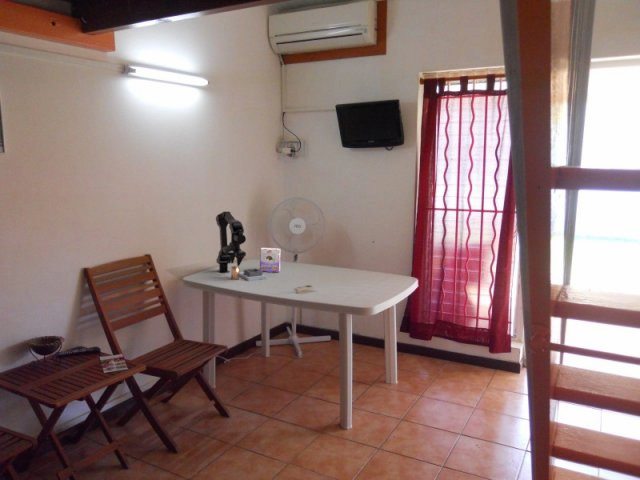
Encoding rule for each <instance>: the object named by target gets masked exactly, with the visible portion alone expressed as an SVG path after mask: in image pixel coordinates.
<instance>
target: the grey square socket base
mask: <svg viewBox="0 0 640 480" xmlns="http://www.w3.org/2000/svg"><path fill="white" fill-rule="evenodd" d="M239 278H242V279H244V280H246V281H248V282H250V281H251V282H252V281H259V280H267V275H265V274H263V272H262V271H261V270H260V268H259V269H258V268H247V269H243V271H239Z"/></svg>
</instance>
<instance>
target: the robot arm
mask: <svg viewBox="0 0 640 480" xmlns="http://www.w3.org/2000/svg"><path fill="white" fill-rule="evenodd" d="M215 222H216V225H217V226H218V228H219V242H220V250H219V251H218V255H217V258H216V264H218V265H219V269H217V272H219V273H221V274H222V273H231V271H230V270H229V269H228V268H229V267H228V266H229V264H234V261H235V258H236V266H238V267H240V265H241V263H242V262H243V260H244V258H245V257H246V255H247V254H246V253H247V252H246V251H244V250H242V249H241V245H242V244H244V243H246V240H247V238H246V236H245V235H244V233H245V228H244V226H243V224H242V221H240V220H238V219H236V218H235V217H234V216H233V215H232V214H231V211H222V212H221V213H219V214H217V215H216V217H215ZM228 225H229V226H228ZM228 227H229V230H230V234H231V235H230V239H231V240H230V242H229V244H228V233H227V228H228Z"/></svg>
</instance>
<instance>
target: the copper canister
mask: <svg viewBox="0 0 640 480" xmlns="http://www.w3.org/2000/svg"><path fill="white" fill-rule="evenodd" d="M230 267H231V268H230V270H231V271H230V273H231V274H230V276H231V277H230V279H231V280H232V281H237V280H240V276H239V272H240V266H237V265H234V266H233V265H232V266H230Z"/></svg>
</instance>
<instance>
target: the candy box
mask: <svg viewBox="0 0 640 480" xmlns="http://www.w3.org/2000/svg"><path fill="white" fill-rule="evenodd" d="M259 250H260V251H259V254H260V255H259V270H261V271H262V273H280V272H281V254H282V253H281V251H282V249H281V248H277V247H261V248H259Z"/></svg>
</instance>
